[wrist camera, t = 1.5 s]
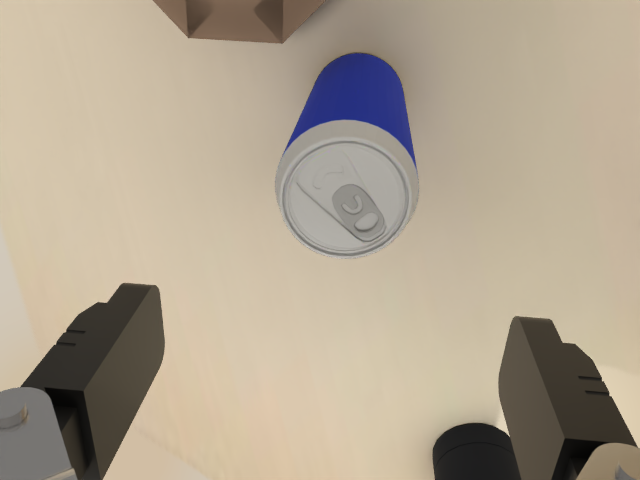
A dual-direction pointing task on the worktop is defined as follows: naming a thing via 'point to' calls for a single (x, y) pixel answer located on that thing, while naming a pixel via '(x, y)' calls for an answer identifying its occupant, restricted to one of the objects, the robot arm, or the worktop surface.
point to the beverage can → (350, 161)
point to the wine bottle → (475, 454)
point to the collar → (239, 18)
